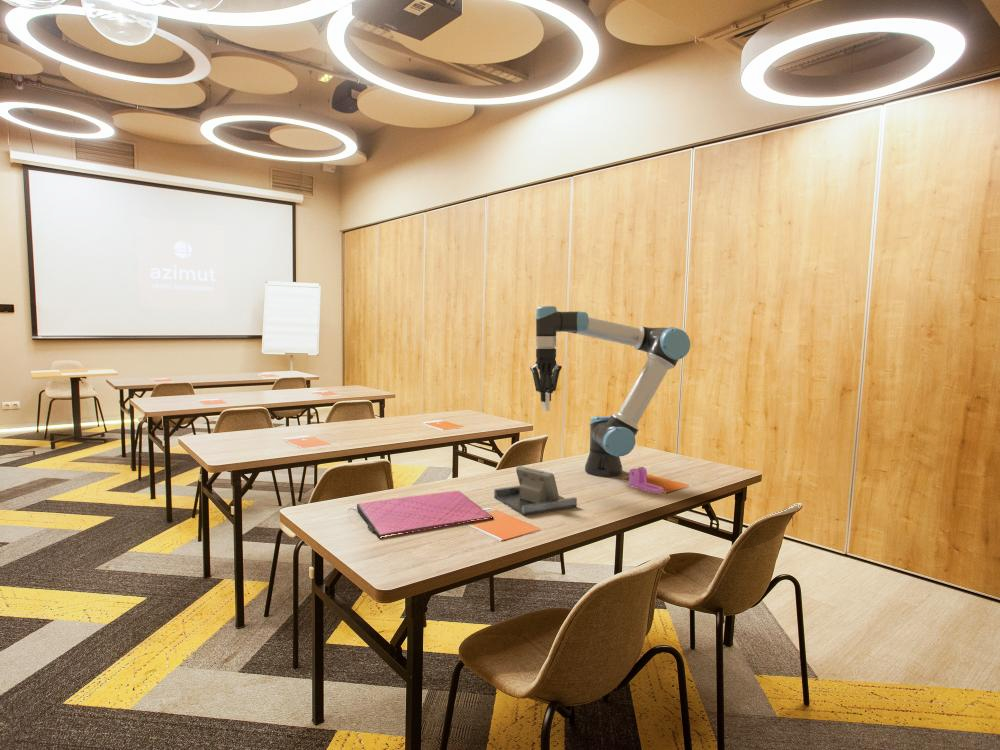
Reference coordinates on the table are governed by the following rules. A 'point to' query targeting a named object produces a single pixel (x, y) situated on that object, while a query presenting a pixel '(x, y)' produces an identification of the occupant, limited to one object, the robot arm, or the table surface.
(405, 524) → the laptop bag
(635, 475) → the bracket
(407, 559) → the table surface
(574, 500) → the rail plate
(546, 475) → the digital clock
